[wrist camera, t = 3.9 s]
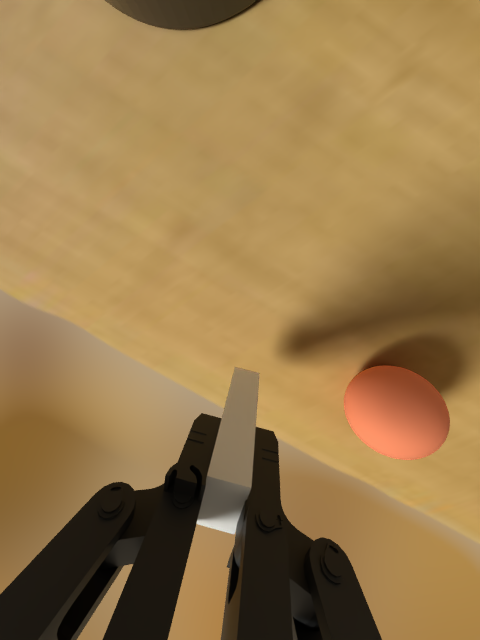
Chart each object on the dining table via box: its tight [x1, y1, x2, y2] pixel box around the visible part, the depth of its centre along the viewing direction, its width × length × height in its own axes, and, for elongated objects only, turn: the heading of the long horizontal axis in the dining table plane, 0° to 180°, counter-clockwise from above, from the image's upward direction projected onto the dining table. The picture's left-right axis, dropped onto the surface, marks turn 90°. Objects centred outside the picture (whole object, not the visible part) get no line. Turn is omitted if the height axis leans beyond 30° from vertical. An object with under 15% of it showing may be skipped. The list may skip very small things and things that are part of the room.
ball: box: [344, 365, 450, 460], centre depth 15 cm, size 6×6×6 cm
